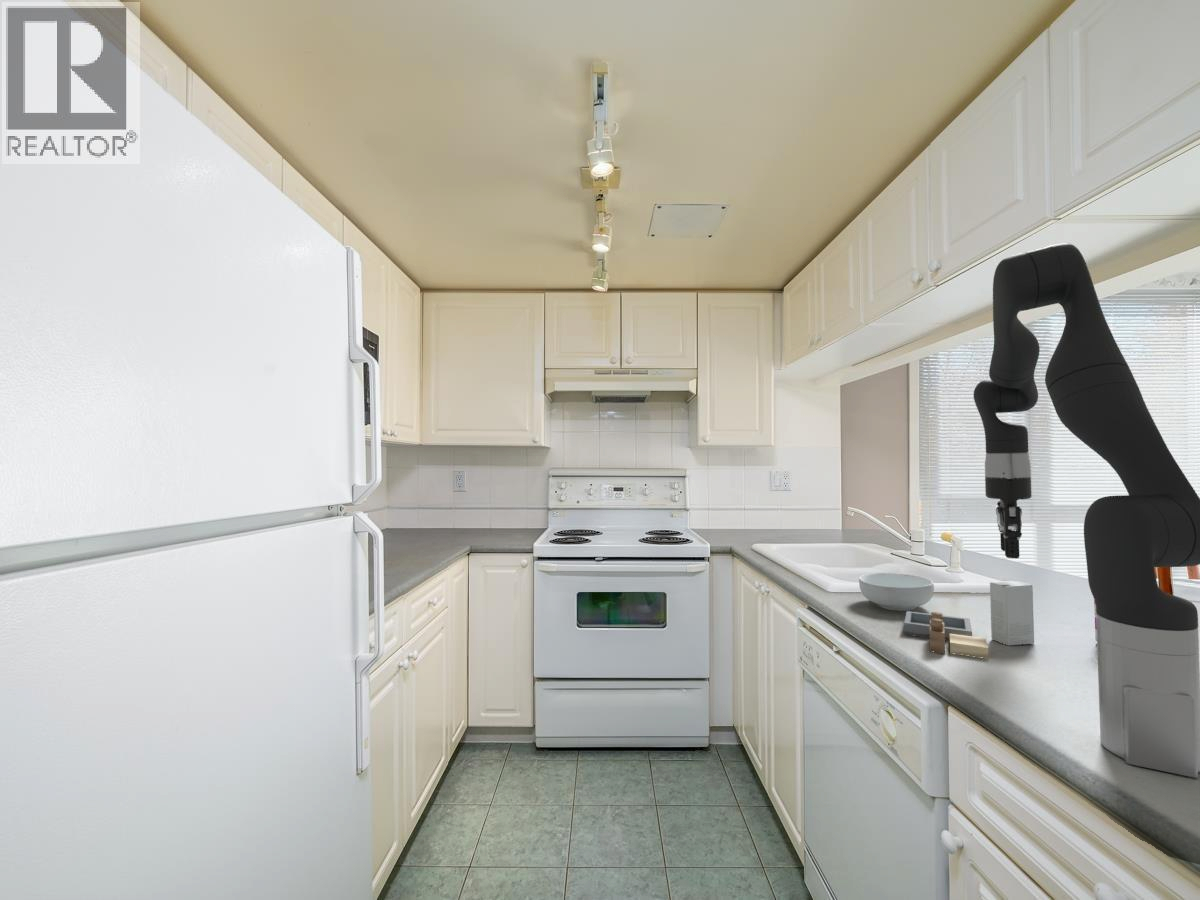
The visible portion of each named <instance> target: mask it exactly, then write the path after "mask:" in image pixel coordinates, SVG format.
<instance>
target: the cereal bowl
mask: <svg viewBox="0 0 1200 900" xmlns="http://www.w3.org/2000/svg"><path fill="white" fill-rule="evenodd" d="M858 584H859V589H860V592H861V594H862V596H864V597H865V598H866V600H868V601H870V602H872V603H874V604H877V605H878V606H879V607H881V608H883V609H886V610H890V611H897V612H907V611H910V612H911V611H913V610H915V608H917V607H921V606H924V605H926V604H927V603H928V602H930V601H931V600H932V598H933V596H934V591H935V590H934V589H935V587H934V586H935V585H934V581H933V580H932V579H929V578H927V577H923V576H920V575H915V574H906V573H897V572H873V573H872V572H871V573H866V574H862V575H860V576H859V577H858Z"/></svg>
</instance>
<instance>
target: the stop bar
mask: <svg viewBox="0 0 1200 900" xmlns="http://www.w3.org/2000/svg"><path fill="white" fill-rule="evenodd" d="M930 614H931V620H930V638H929V649H930V650H929V652H930V651H934V652H933V653H936V652H939V653H938V654H942V653H945V654H946V640H945V629H944V622H943V615H944V614H943V613H942V612H937V611H932V612H930Z"/></svg>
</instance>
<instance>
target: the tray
mask: <svg viewBox="0 0 1200 900" xmlns="http://www.w3.org/2000/svg"><path fill="white" fill-rule="evenodd" d="M905 612H906V614H905V618H904V635H905V634H906V635H905V636H912V635H915V637H919V636H920V638H926V637H930V620H931V613H927V612H926V613H924V612H917V611H911V610H910V611H905ZM943 622H944V629H945V641H948V640H950V634H958V635H965V636H972V637H973V630H972V625H971V619H970V618H969V617H960V616H959V617H958V616H951V615H944V614H943Z"/></svg>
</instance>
